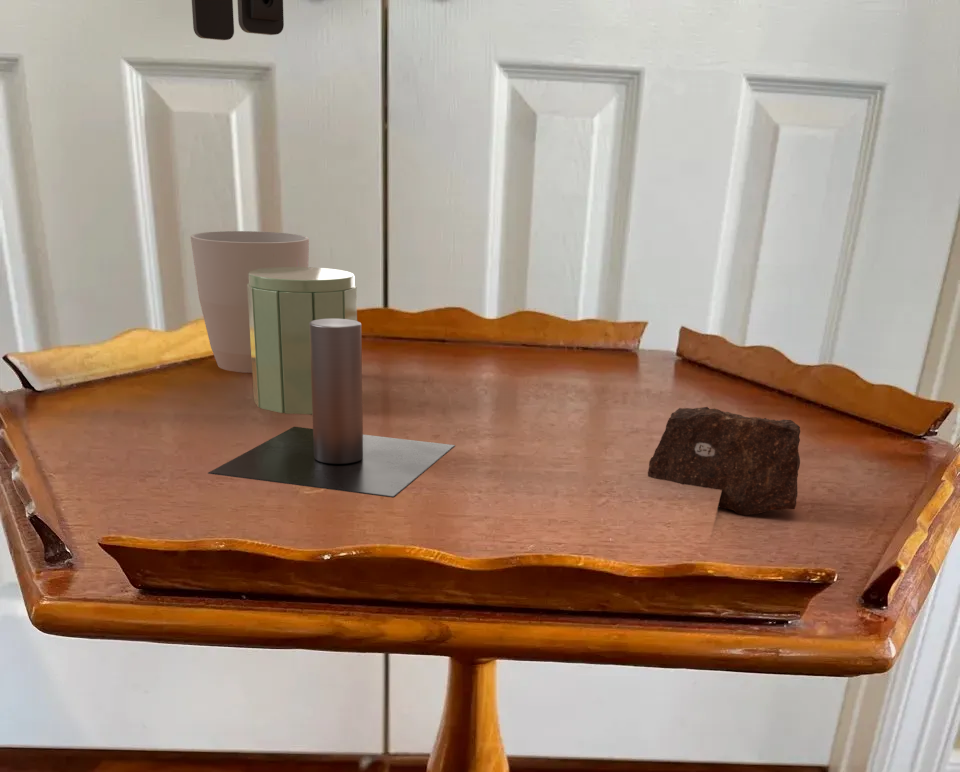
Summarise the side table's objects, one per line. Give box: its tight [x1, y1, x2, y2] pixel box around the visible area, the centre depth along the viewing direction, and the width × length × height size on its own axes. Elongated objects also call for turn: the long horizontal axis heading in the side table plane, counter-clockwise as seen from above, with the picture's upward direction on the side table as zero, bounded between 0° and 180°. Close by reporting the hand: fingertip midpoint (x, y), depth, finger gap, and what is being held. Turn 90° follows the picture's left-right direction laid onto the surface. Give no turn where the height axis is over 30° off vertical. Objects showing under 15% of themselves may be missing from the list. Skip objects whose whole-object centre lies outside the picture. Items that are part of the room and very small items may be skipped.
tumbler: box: [247, 266, 358, 415], centre depth 64 cm, size 6×7×9 cm
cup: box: [189, 230, 310, 374], centre depth 74 cm, size 8×8×10 cm
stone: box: [647, 406, 801, 516], centre depth 53 cm, size 8×3×5 cm, turn 65°
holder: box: [207, 319, 456, 498], centre depth 53 cm, size 10×10×8 cm
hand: (236, 36), depth 57 cm, fingers open, 8 cm apart
